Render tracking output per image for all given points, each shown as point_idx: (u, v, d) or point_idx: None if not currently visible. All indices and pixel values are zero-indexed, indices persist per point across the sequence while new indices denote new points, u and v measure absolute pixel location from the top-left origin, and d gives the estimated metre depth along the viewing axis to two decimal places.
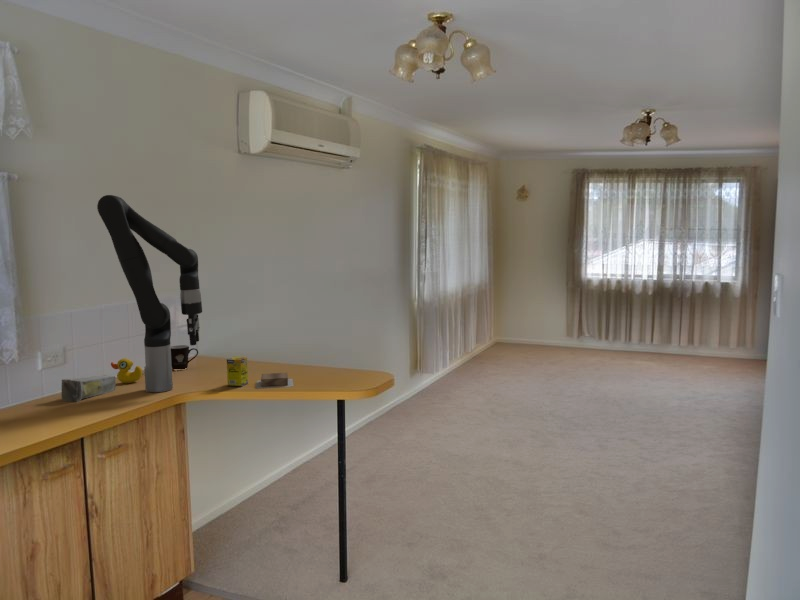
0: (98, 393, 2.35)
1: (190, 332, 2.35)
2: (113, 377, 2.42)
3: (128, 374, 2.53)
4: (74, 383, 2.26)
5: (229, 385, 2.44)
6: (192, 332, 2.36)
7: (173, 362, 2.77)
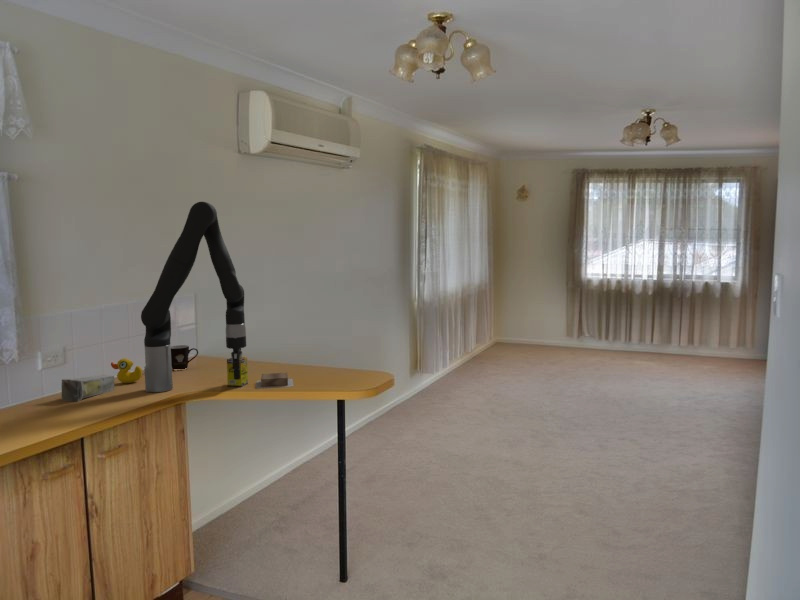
0: (98, 393, 2.36)
1: (235, 367, 2.39)
2: (112, 377, 2.42)
3: (128, 374, 2.53)
4: (75, 382, 2.26)
5: (229, 385, 2.44)
6: (237, 367, 2.39)
7: (173, 362, 2.77)
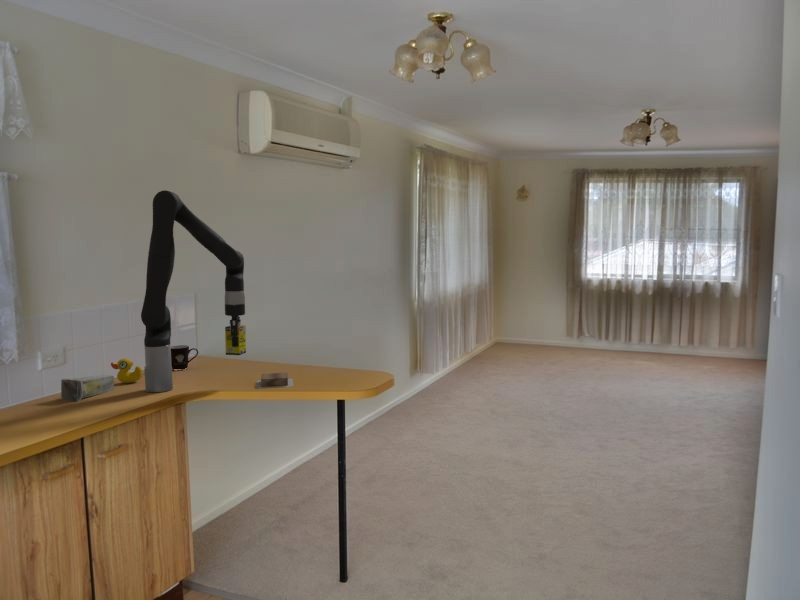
0: (97, 392, 2.36)
1: (233, 334, 2.38)
2: (112, 376, 2.43)
3: (128, 374, 2.53)
4: (75, 382, 2.27)
5: (227, 353, 2.42)
6: (235, 334, 2.38)
7: (173, 362, 2.77)
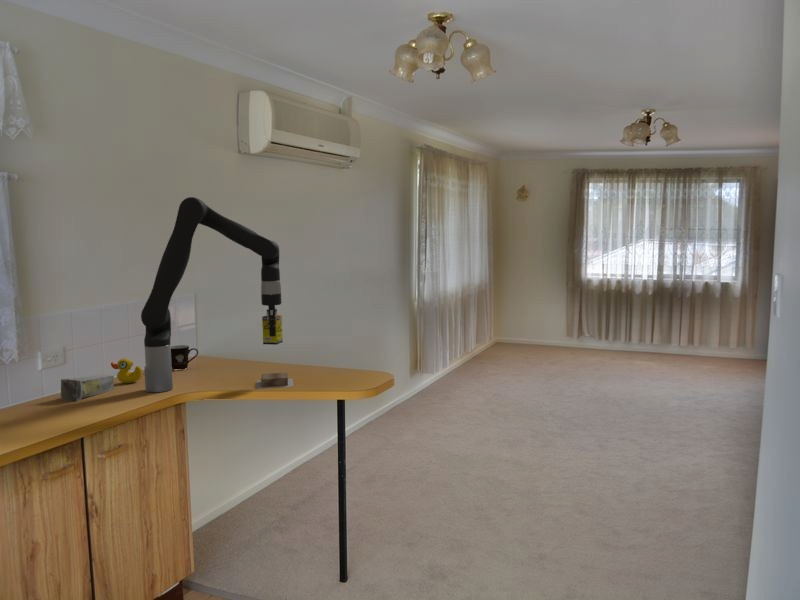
0: (97, 392, 2.36)
1: (271, 323, 2.39)
2: (111, 376, 2.43)
3: (128, 374, 2.53)
4: (74, 382, 2.27)
5: (264, 342, 2.44)
6: (273, 323, 2.39)
7: (173, 362, 2.77)
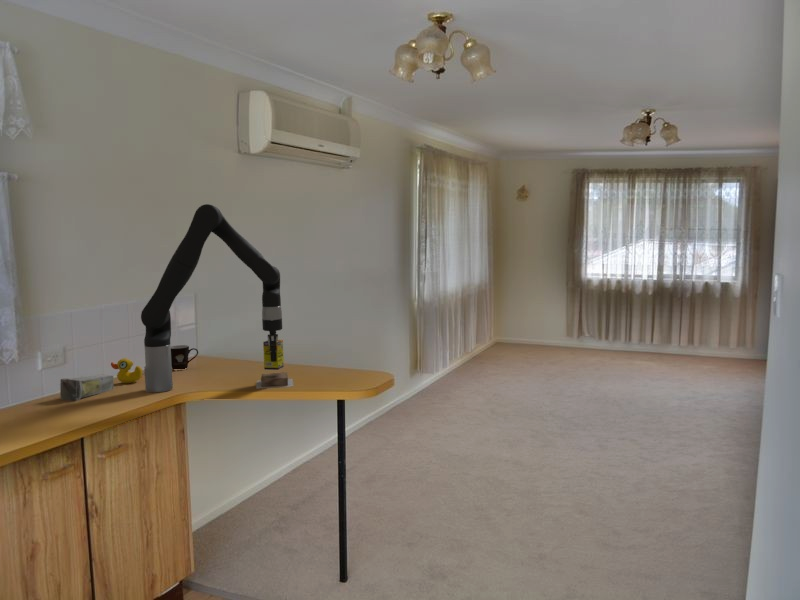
0: (97, 392, 2.36)
1: (272, 349, 2.40)
2: (111, 376, 2.43)
3: (128, 374, 2.53)
4: (73, 382, 2.27)
5: (265, 367, 2.45)
6: (274, 349, 2.40)
7: (173, 362, 2.77)
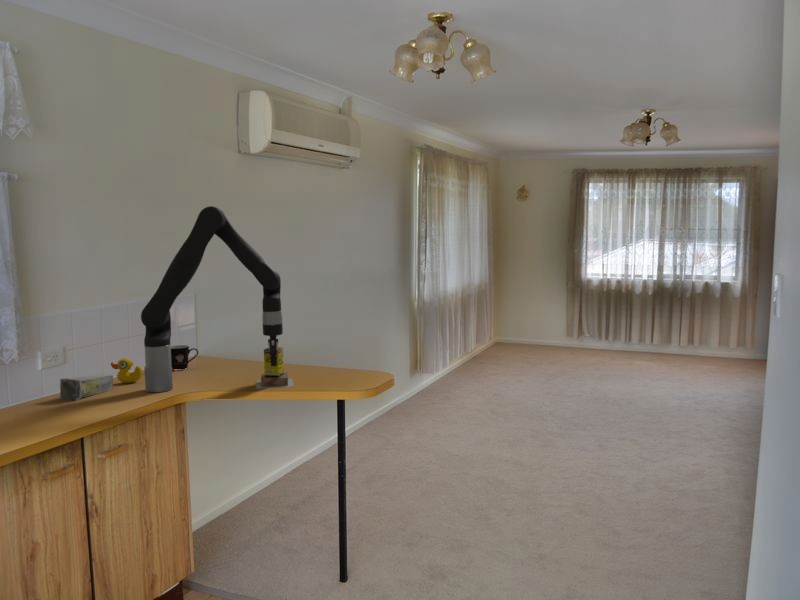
0: (96, 392, 2.37)
1: (272, 353, 2.40)
2: (111, 376, 2.43)
3: (128, 374, 2.53)
4: (73, 382, 2.27)
5: (266, 375, 2.45)
6: (274, 353, 2.40)
7: (173, 362, 2.77)
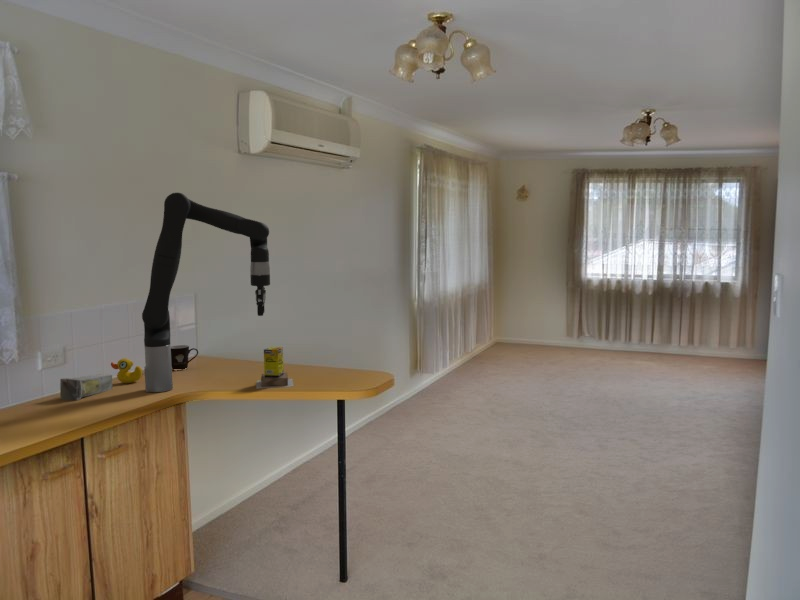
0: (96, 392, 2.37)
1: (259, 302, 2.44)
2: (110, 376, 2.44)
3: (128, 374, 2.53)
4: (74, 381, 2.28)
5: (266, 375, 2.45)
6: (261, 303, 2.44)
7: (173, 362, 2.77)
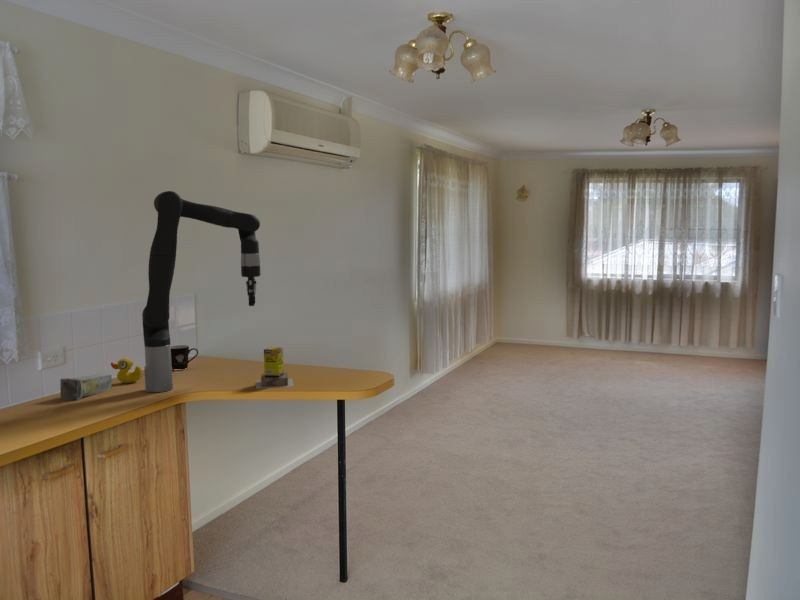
0: (96, 391, 2.37)
1: (250, 293, 2.50)
2: (109, 375, 2.44)
3: (128, 374, 2.53)
4: (74, 381, 2.28)
5: (266, 375, 2.45)
6: (252, 293, 2.50)
7: (173, 362, 2.77)
